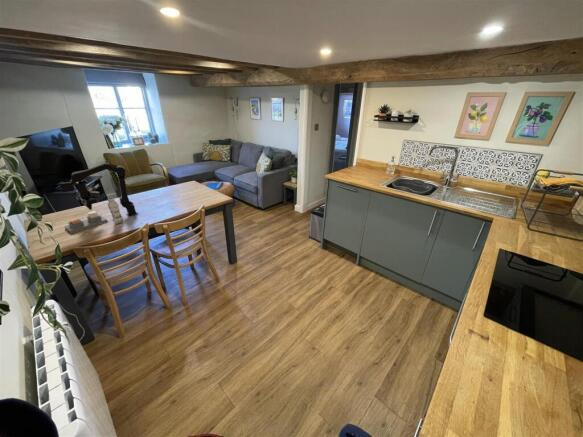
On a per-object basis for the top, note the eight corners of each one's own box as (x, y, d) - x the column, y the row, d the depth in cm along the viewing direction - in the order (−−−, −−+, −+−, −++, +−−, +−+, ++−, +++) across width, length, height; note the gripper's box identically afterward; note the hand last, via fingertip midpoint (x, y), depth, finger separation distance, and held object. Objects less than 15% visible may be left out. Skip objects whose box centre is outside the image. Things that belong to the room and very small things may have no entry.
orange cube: (81, 223, 169) (79, 219, 168) (73, 225, 166) (71, 221, 164) (78, 221, 171) (76, 217, 170) (71, 224, 168) (69, 219, 166)
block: (107, 221, 180) (105, 215, 177) (72, 233, 163) (69, 227, 161) (100, 217, 185) (98, 211, 183) (65, 228, 169) (62, 222, 167)
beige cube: (98, 216, 177) (96, 212, 175) (91, 218, 174) (89, 214, 172) (95, 214, 179) (94, 210, 177) (88, 216, 176) (87, 212, 174)
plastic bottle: (122, 220, 183) (114, 196, 173) (125, 222, 179) (117, 198, 170) (112, 222, 178) (103, 198, 169) (115, 225, 174) (106, 201, 165)
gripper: (101, 189, 168) (109, 209, 175) (90, 184, 177) (97, 203, 184) (82, 193, 160) (91, 214, 167) (72, 188, 169) (80, 208, 176)
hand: (90, 209), depth 174 cm, fingers closed
